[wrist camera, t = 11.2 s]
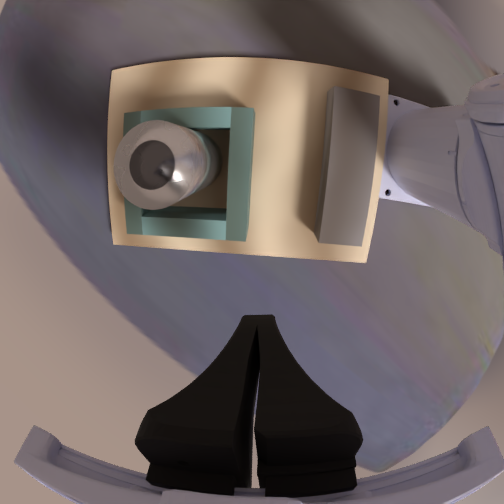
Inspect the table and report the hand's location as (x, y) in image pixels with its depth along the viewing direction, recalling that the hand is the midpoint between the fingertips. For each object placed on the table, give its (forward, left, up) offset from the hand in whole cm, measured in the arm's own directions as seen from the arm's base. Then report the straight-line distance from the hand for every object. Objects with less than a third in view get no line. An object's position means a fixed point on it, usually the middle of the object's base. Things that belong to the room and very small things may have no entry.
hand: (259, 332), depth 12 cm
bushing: (+5, -7, -9) cm, 12 cm away
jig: (+2, -7, -10) cm, 12 cm away
